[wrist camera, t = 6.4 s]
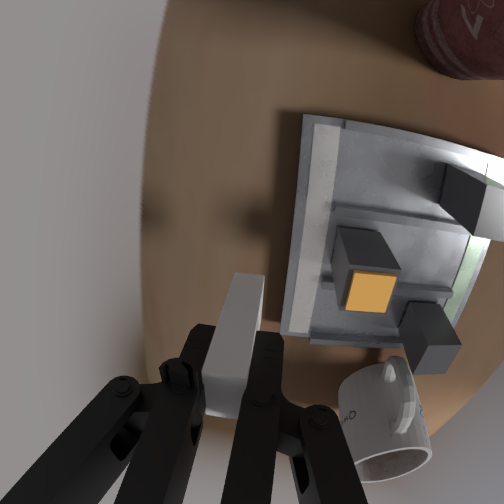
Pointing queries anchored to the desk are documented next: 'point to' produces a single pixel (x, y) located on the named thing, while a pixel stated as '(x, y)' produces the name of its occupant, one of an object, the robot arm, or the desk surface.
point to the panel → (377, 226)
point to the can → (463, 37)
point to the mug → (383, 421)
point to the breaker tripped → (363, 271)
